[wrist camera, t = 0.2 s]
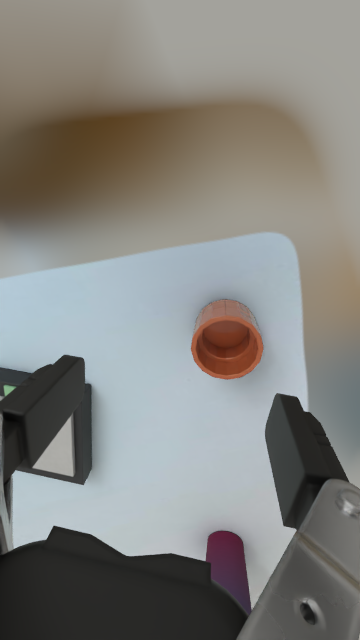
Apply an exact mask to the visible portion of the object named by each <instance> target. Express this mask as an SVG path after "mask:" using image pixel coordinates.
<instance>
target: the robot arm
mask: <svg viewBox="0 0 360 640" xmlns="http://www.w3.org/2000/svg"><path fill="white" fill-rule="evenodd" d="M84 392H85V362H84V359H83V358H81V357H75V356H70V355H63V356H62V357H61V358H60V359H59V360H58V361H56V362H55V363H54V364H53V365H52V364H49V365H46V366H44V367H42V368H40V369H38V370H36V371H35V372H34V373H33V374H31V375H30V376H29V377H28V379H25V380H24V381H23V382H22V383H21V384H20V386H19V385H18V386H17V387H16V388H15V389H14V390H12V391H11V392H10V393H9V394H8V395H6V396H5V397H4V398H3V399H2V400H1V401H0V640H358V639H359V634H360V489H359V488H358V487H356V486H354V485H353V484H351V483H350V482H349V480H348V478H347V476H346V474H345V472H344V470H343V468H342V466H341V464H340V462H339V460H338V458H337V456H336V454H335V452H334V450H333V448H332V447H331V444H330V442H329V440H328V438H327V437H326V434H325V431H324V429H323V427H322V426H321V423H320V422H319V421H318V420H317V419H316V418H315V417H314V416H313V415H312V414H311V413H310V412H305V411H303V408H302V406H301V404H300V401H299V399H298V398H297V397H295V396H289V395H284V394H278V393H277V394H276V395H275V397H274V400H273V404H272V407H271V410H270V413H269V417H268V420H267V423H266V429H265V439H266V444H267V449H268V454H269V458H270V463H271V468H272V473H273V478H274V482H275V487H276V492H277V497H278V501H279V506H280V511H281V516H282V521H283V525H284V526H286V527H291V528H295V529H296V530H297V531H296V533H295V534H294V536H293V538H292V540H291V541H290V543H289V545H288V547H287V549H286V550H285V552H284V554H283V556H282V558H281V559H280V561H279V563H278V565H277V567H276V568H275V570H274V572H273V574H272V576H271V577H270V579H269V581H268V583H267V585H266V586H265V588H264V590H263V592H262V594H261V595H260V597H259V599H258V601H257V603H256V604H255V606H254V608H253V610H252V612H251V613H250V615H248V614H247V612H246V611H245V609H244V608H243V607H242V606H241V604H240V603H239V602H238V601H237V599H236V598H235V597H234V596H233V595H232V594H231V593H230V592H229V591H228V590H226V589H225V588H224V587H223V586H221V585H220V584H219V583H217V582H216V581H214V580H213V579H211V563H210V562H206V561H201V560H197V559H193V558H189V557H184V556H180V555H176V554H172V553H169V554H157V555H144V556H125V555H123V554H122V553H120V552H118V551H117V550H115V549H114V548H112V547H110V546H109V545H107V544H106V543H104V542H102V541H101V540H99V539H98V538H96V537H94V536H93V535H91V534H87V533H82V532H78V531H74V530H70V529H66V528H61V527H57V526H53V528H52V530H51V532H50V534H49V536H48V538H47V540H41V541H37V542H32V543H28V544H25V545H22V546H20V547H17V548H15V549H14V546H13V479H12V474H13V473H14V471H15V470H16V469H17V468H18V467H22V468H27V469H32V467H33V466H34V465H35V463H36V462H37V461H38V459H39V458H40V457H41V455H42V454H43V453H44V451H45V450H46V449H47V447H48V446H49V445H50V443H51V442H52V441H53V439H54V438H55V437H56V435H57V434H58V432H59V431H60V430H61V428H62V427H63V426H64V424H65V423H66V422H67V420H68V419H69V418H70V416H71V415H72V414H73V412H74V411H75V410H76V408H77V407H78V406H79V404H80V403H81V401H82V399H83V396H84Z"/></svg>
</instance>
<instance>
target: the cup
mask: <svg viewBox="0 0 360 640" xmlns="http://www.w3.org/2000/svg"><path fill="white" fill-rule="evenodd" d="M206 562H210V563H211V579H213V580H214V581H216V582H217V583H219V584H220V585H221V586H223V587H224V588H225V589H226V590H228V591H229V592H230V593H231V594H232V595H233V596H234V597H235V598H236V599H237V601H238V602H239V603H240V604H241V606H242V607H243V608H244V609H245V611H246V612H247V614H248V615H250V613H251V612H252V610H251V602H250V594H249V586H248V579H247V571H246V563H245V555H244V547H243V542H242V540H241V539H240V537H238V536H237V535H236V534H234V533H231V532H227V531H218V532H214V533H212V534H211V535H210V536H209V537H208V542H207V553H206Z"/></svg>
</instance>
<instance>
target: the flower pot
mask: <svg viewBox="0 0 360 640" xmlns="http://www.w3.org/2000/svg"><path fill="white" fill-rule="evenodd" d="M191 351H192V355H193V358H194V361H195V362H196V364H197V365H198V366H199V367H200V368H201V370H202V371H204V372H205V373H207V374H209V375H211V376H212V377H215V378H221V379H227V380H228V379H234V378H240V377H242V376H244V375H246V374H248V373H249V372H251V371H252V370H253V369H254V368H255V367H256V366H257V364H258V363H259V362H260V360H261V356H262V353H263V343H262V338H261V334H260V332H259V329H258V326H257V323H256V320H255V317H254V316H253V314H252V313H251V311H250V310H249V309H248V308H247V307H246V306H244V305H243V304H241V303H239V302H237V301H233V300H226V299H225V300H219V301H215V302H212V303H210V304H209V305H207V306H206V307H205V308H203V309H202V311H201V312H200V314H199V316H198V317H197V320H196V324H195V329H194V333H193V338H192V345H191Z"/></svg>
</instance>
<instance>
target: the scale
mask: <svg viewBox="0 0 360 640" xmlns="http://www.w3.org/2000/svg"><path fill="white" fill-rule="evenodd" d="M31 374H32V373H26V372H21V371H16V370H10V369H5V368H0V401H1V400H2V399H3V398H4V397H5V396H6V395H8V394H9V393H10V392H11V391H12V390H14V389H15V388H16V387H17V386H18V385H19V386H20V384H21V383H22V382H23V381H24V380H25V379H28V377H29V376H30V375H31ZM16 470H18V471H22V472H27V473H31V474H36V475H40V476H45V477H49V478H54V479H59V480H63V481H68V482H72V483H77V484H81V485H84V483H85V481H86V479H87V477H88V475H89V473H90V471H91V385H90V384H85V392H84V396H83V399H82V401H81V403H80V404H79V406H78V407H77V408H76V410H75V411H74V412H73V414H72V415H71V416H70V418H69V419H68V420H67V422H66V423H65V424H64V426H63V427H62V428H61V430H60V431H59V432H58V434H57V435H56V437H55V438H54V439H53V441H52V442H51V443H50V445H49V446H48V447H47V449H46V450H45V451H44V453H43V454H42V455H41V457H40V458H39V459H38V461H37V462H36V463H35V465H34V466H33V467H32V469H27V468H22V467H18V468H17V469H16Z"/></svg>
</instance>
